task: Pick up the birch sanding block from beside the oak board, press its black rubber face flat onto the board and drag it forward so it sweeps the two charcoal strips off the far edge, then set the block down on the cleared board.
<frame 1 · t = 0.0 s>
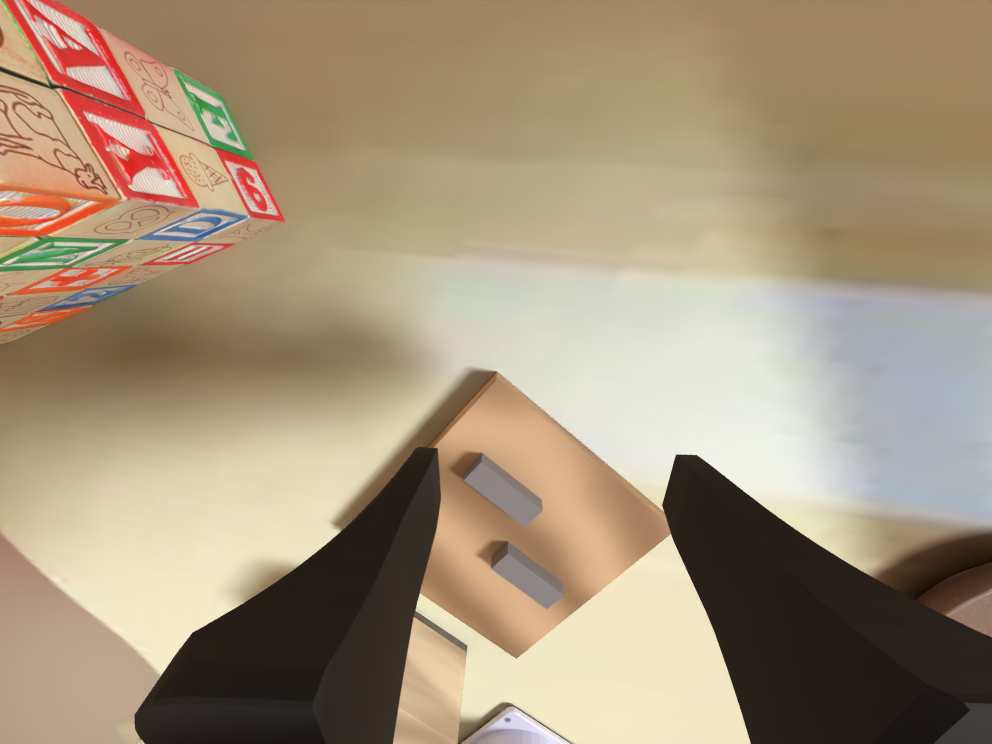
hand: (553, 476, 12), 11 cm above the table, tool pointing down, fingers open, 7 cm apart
charcoal strip A: (527, 569, 24), point 1 cm above the table, touching oak board
stack of blocks: (89, 240, 21), on the table
charcoal strip B: (503, 485, 23), point 1 cm above the table, touching oak board
plant saucer: (984, 633, 27), on the table
sanding block: (395, 623, 28), on the table
oak board: (507, 520, 25), on the table
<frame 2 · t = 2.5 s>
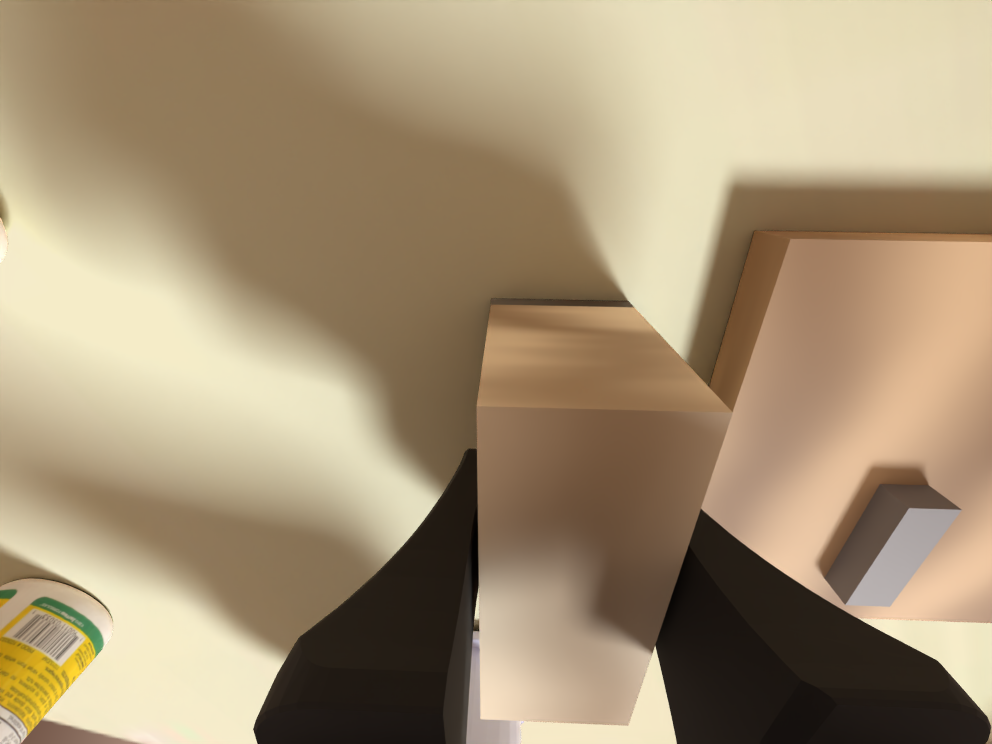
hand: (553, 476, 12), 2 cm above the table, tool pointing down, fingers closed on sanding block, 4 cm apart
charcoal strip A: (872, 535, 13), point 1 cm above the table, touching oak board
supplement bottle: (64, 605, 19), on the table
sanding block: (547, 439, 14), on the table, touching gripper
oak board: (898, 449, 13), on the table
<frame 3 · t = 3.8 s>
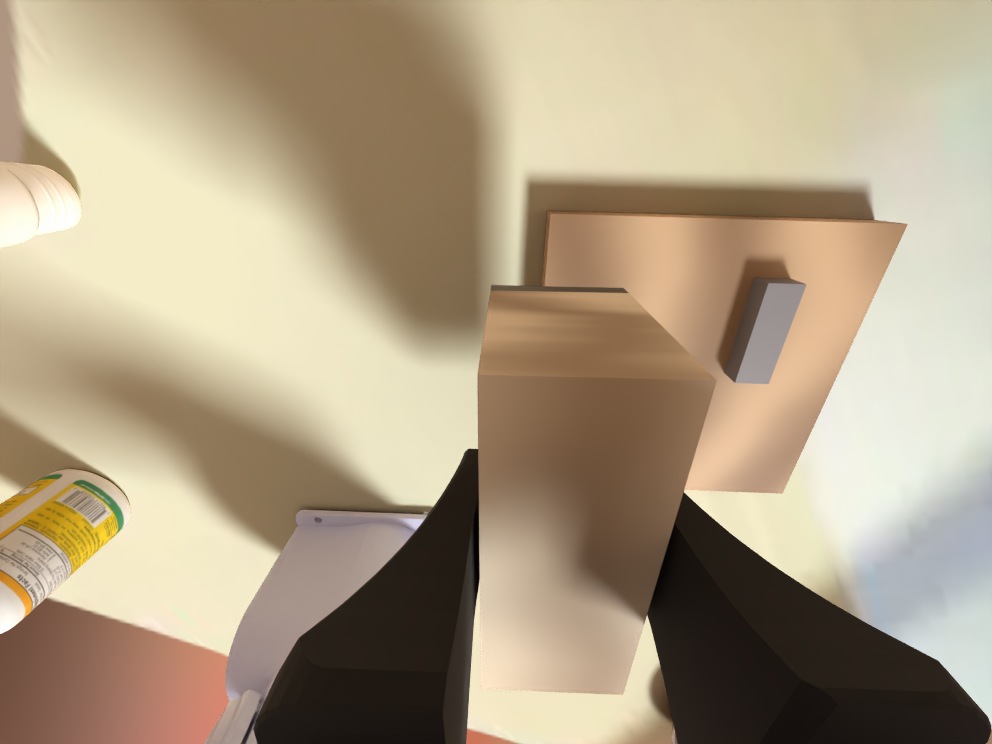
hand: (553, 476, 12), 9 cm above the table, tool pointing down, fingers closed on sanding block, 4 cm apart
charcoal strip B: (755, 328, 18), point 1 cm above the table, touching oak board
supplement bottle: (93, 495, 26), on the table
sanding block: (546, 423, 14), point 6 cm above the table, touching gripper
lightbulb: (72, 196, 17), on the table
oak board: (673, 362, 20), on the table
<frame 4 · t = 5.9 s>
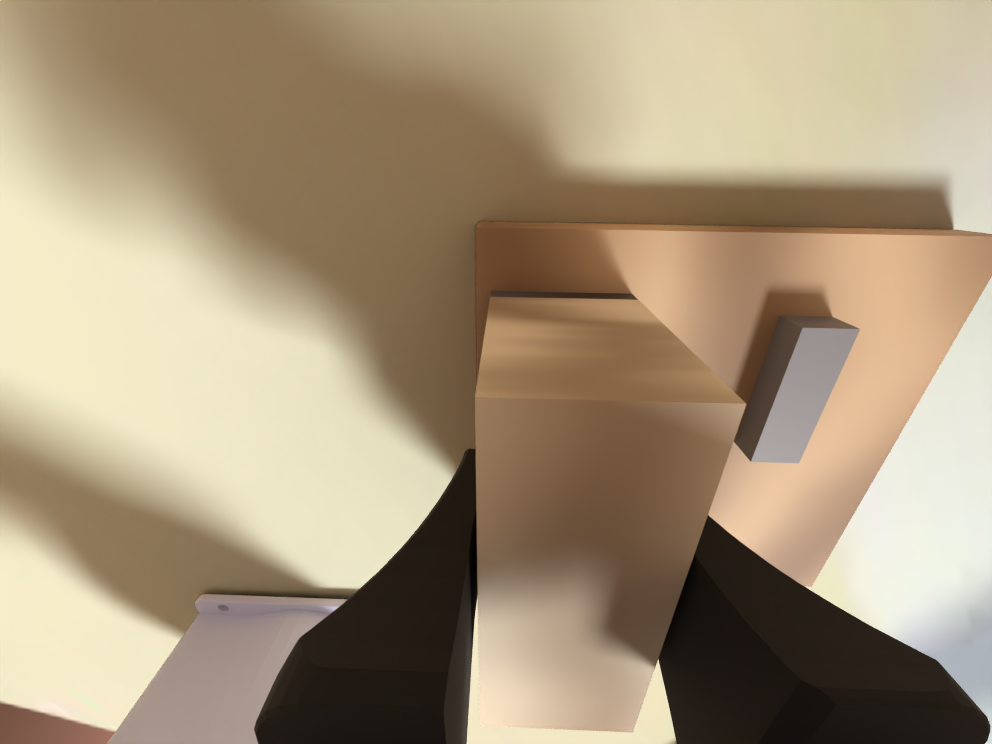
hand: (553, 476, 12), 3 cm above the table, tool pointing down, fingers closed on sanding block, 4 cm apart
charcoal strip B: (779, 384, 12), point 1 cm above the table, touching oak board
sanding block: (548, 436, 13), point 2 cm above the table, touching gripper
oak board: (665, 422, 15), on the table
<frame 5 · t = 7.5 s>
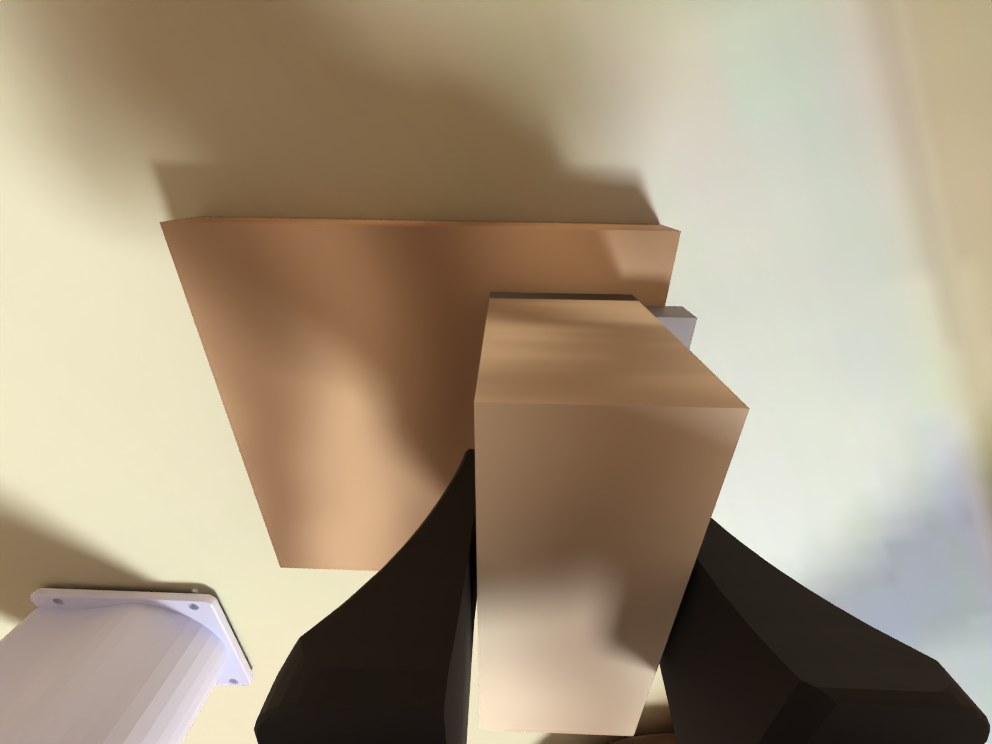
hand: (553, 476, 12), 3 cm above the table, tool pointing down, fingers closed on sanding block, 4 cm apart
charcoal strip B: (641, 375, 12), point 2 cm above the table, touching sanding block
sanding block: (548, 438, 13), point 2 cm above the table, touching charcoal strip B, gripper
oak board: (439, 416, 15), on the table
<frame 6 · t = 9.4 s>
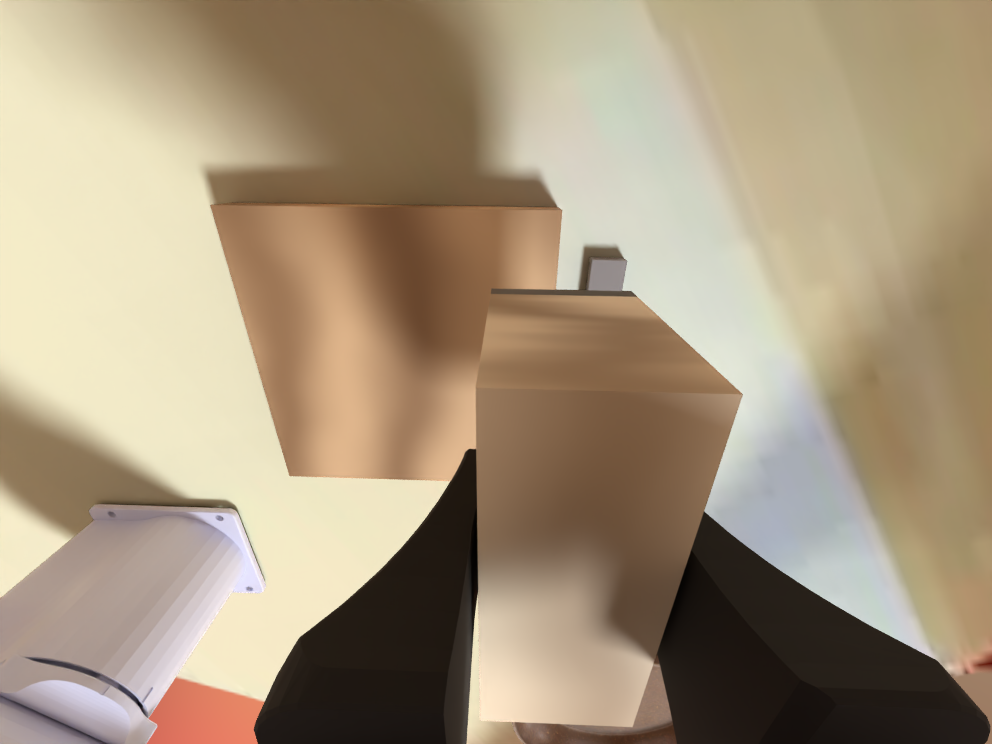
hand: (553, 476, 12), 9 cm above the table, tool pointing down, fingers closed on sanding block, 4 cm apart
charcoal strip B: (601, 310, 18), point 1 cm above the table, tilted 179°
plant saucer: (613, 681, 34), on the table
sanding block: (548, 433, 14), point 7 cm above the table, touching gripper
oak board: (408, 353, 20), on the table
when the fingers open (4 cm above the table, at t = 11.2 s): sanding block stays where it is, resting on oak board.
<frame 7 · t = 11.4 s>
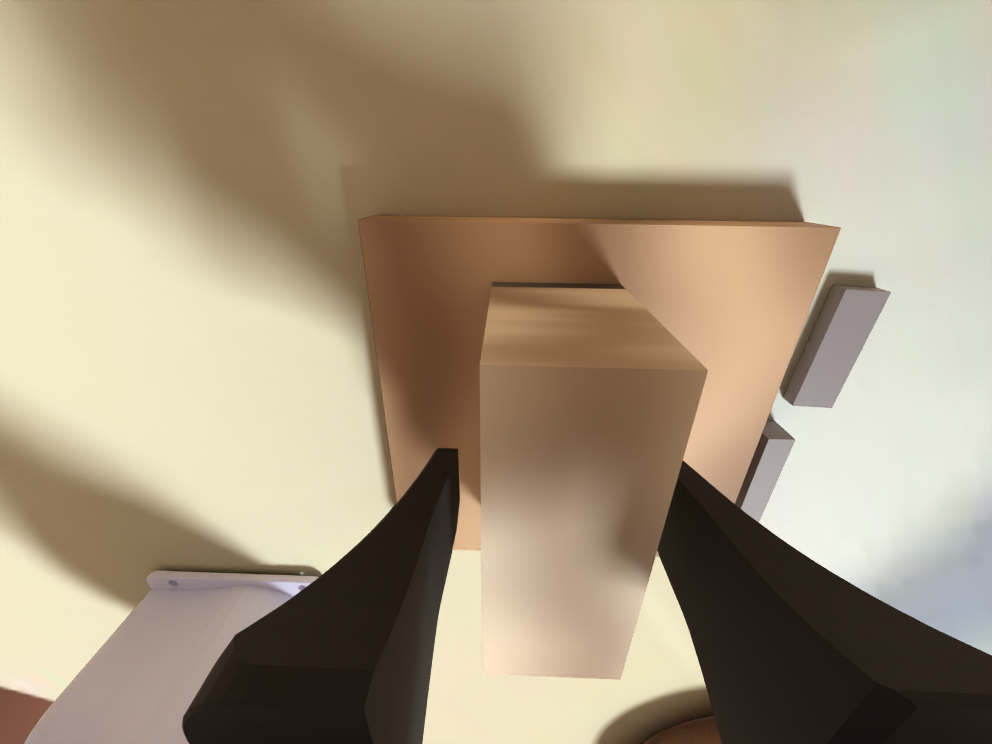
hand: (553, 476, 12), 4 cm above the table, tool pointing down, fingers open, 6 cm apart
charcoal strip A: (740, 471, 17), on the table, tilted 91°
charcoal strip B: (838, 352, 14), point 1 cm above the table, tilted 180°
sanding block: (545, 417, 15), point 1 cm above the table, touching oak board
oak board: (567, 403, 16), on the table
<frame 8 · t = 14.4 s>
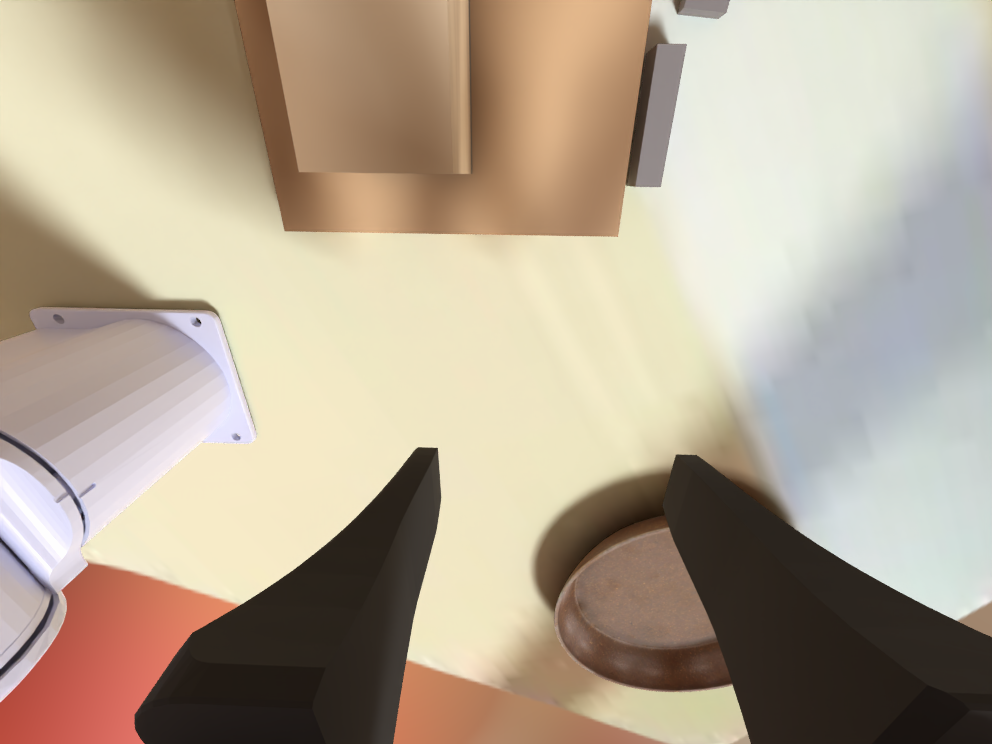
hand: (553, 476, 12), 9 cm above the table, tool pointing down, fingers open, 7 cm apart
charcoal strip A: (639, 122, 15), on the table, tilted 90°
plant saucer: (671, 578, 29), on the table
sanding block: (410, 6, 13), point 1 cm above the table, touching oak board
oak board: (447, 31, 15), on the table
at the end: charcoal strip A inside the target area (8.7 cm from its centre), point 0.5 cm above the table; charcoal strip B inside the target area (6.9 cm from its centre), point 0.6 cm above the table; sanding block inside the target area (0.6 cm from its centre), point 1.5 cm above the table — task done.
